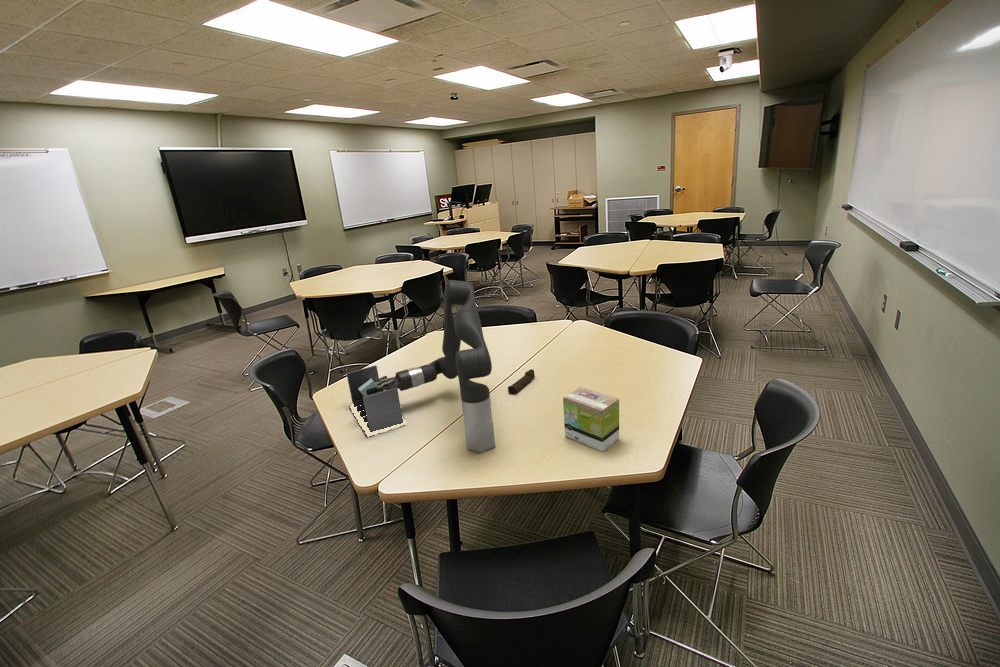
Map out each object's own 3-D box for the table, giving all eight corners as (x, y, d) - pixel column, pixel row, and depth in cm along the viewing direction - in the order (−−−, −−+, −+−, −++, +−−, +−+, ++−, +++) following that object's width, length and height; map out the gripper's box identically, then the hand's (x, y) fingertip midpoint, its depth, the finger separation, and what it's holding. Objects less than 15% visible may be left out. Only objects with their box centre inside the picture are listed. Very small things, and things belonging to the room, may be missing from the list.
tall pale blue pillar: (391, 403, 175) (373, 380, 170) (378, 413, 174) (359, 391, 168) (389, 400, 178) (371, 378, 172) (376, 410, 176) (358, 388, 170)
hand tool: (516, 396, 184) (515, 385, 183) (507, 394, 186) (507, 383, 185) (539, 378, 199) (539, 368, 197) (532, 377, 201) (531, 367, 200)
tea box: (563, 437, 151) (561, 396, 147) (581, 425, 158) (580, 385, 153) (602, 453, 141) (601, 409, 136) (620, 439, 147) (620, 397, 143)
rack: (407, 424, 168) (401, 387, 164) (366, 438, 162) (359, 399, 157) (385, 396, 194) (379, 364, 189) (348, 407, 187) (341, 373, 182)
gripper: (402, 364, 183) (359, 376, 175) (414, 375, 171) (368, 388, 164) (405, 381, 185) (363, 393, 178) (417, 393, 174) (372, 407, 166)
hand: (365, 391), depth 171 cm, fingers closed on tall pale blue pillar, 2 cm apart
